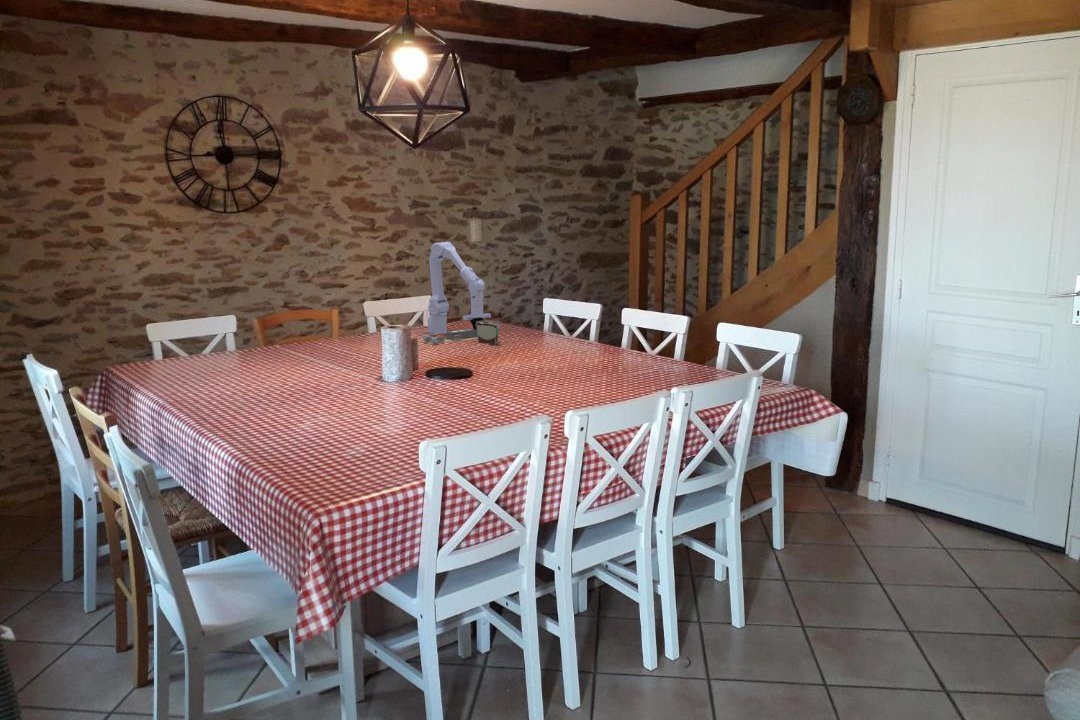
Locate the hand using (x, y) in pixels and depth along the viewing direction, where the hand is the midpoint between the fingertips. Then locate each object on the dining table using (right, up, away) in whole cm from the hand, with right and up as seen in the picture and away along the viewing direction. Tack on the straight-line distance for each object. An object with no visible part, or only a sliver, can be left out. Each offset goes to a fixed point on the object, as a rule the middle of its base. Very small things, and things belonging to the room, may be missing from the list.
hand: (477, 334), depth 395 cm
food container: (+7, -5, -14) cm, 16 cm away
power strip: (-6, -2, -5) cm, 8 cm away
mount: (-9, -3, -6) cm, 11 cm away
